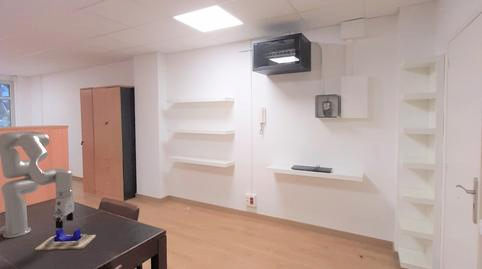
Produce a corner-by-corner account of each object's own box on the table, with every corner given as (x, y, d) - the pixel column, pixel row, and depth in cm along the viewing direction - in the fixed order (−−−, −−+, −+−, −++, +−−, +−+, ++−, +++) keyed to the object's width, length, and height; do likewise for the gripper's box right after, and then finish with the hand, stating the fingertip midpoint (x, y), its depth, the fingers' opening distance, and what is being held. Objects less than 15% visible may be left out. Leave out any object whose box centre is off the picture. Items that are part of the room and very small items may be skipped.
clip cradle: (34, 250, 135) (34, 245, 135) (51, 237, 149) (51, 233, 149) (83, 248, 137) (83, 243, 137) (95, 236, 151) (95, 232, 151)
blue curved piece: (54, 242, 142) (53, 231, 141) (60, 238, 146) (60, 228, 146) (74, 243, 141) (74, 232, 140) (80, 239, 145) (80, 229, 145)
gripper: (62, 198, 133) (62, 231, 135) (79, 188, 150) (80, 217, 152) (46, 198, 133) (47, 231, 134) (66, 188, 150) (66, 217, 151)
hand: (64, 224), depth 143 cm, fingers open, 9 cm apart
